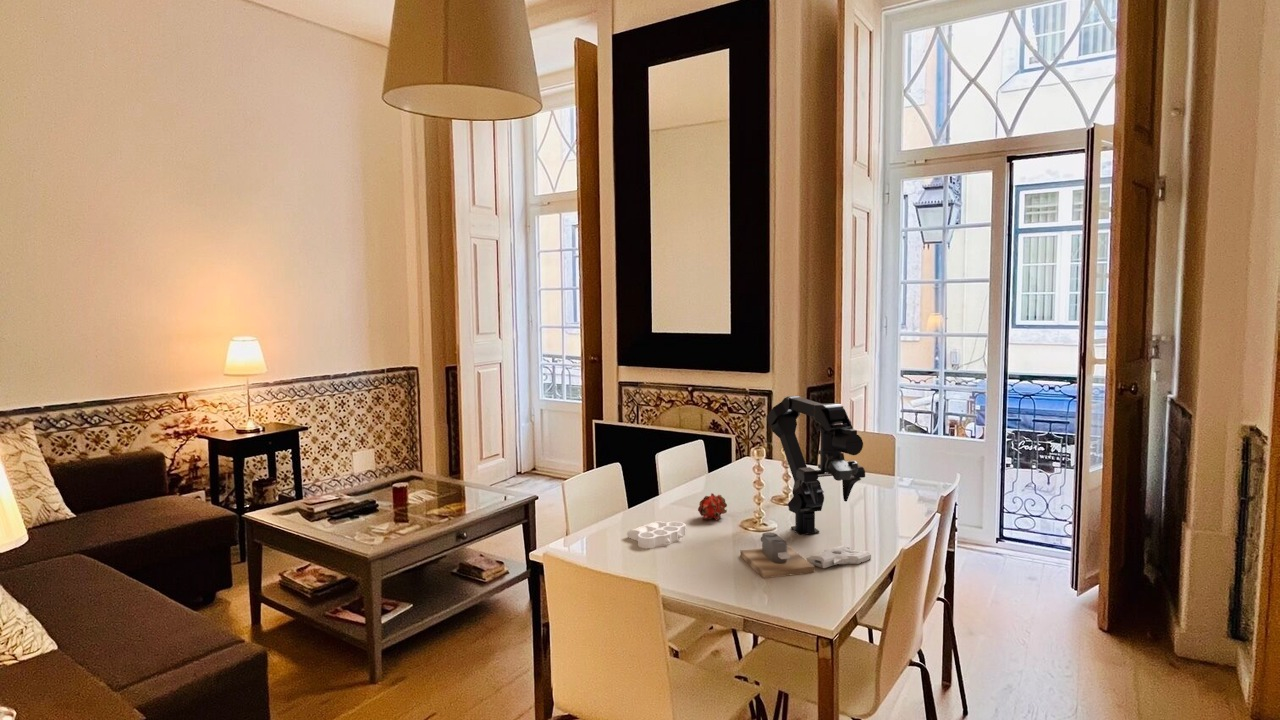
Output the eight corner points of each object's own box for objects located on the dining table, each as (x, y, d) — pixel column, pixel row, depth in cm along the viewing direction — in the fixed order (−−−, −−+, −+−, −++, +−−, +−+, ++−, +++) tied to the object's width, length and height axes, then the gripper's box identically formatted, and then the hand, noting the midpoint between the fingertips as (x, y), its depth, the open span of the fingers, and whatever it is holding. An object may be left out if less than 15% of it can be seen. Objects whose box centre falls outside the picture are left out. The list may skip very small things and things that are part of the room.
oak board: (740, 555, 192) (740, 550, 192) (787, 550, 195) (787, 545, 195) (763, 577, 176) (763, 572, 176) (814, 572, 180) (814, 566, 179)
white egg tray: (660, 526, 219) (696, 537, 209) (619, 542, 206) (656, 553, 196) (660, 516, 219) (696, 526, 209) (619, 530, 206) (656, 542, 196)
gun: (836, 562, 177) (803, 552, 184) (835, 575, 177) (803, 565, 185) (875, 548, 189) (843, 540, 196) (875, 561, 189) (842, 552, 196)
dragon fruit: (726, 518, 229) (704, 533, 221) (708, 500, 233) (685, 514, 225) (737, 501, 225) (715, 516, 216) (718, 483, 228) (695, 496, 220)
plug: (757, 548, 193) (757, 530, 193) (770, 547, 194) (770, 529, 193) (778, 567, 179) (778, 548, 179) (792, 565, 180) (792, 546, 180)
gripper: (813, 456, 188) (813, 513, 189) (876, 452, 192) (875, 507, 193) (795, 448, 199) (795, 502, 200) (855, 444, 203) (854, 496, 204)
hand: (830, 502), depth 199 cm, fingers open, 9 cm apart
